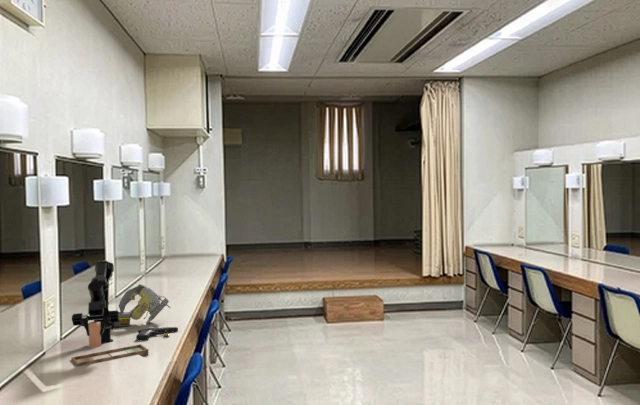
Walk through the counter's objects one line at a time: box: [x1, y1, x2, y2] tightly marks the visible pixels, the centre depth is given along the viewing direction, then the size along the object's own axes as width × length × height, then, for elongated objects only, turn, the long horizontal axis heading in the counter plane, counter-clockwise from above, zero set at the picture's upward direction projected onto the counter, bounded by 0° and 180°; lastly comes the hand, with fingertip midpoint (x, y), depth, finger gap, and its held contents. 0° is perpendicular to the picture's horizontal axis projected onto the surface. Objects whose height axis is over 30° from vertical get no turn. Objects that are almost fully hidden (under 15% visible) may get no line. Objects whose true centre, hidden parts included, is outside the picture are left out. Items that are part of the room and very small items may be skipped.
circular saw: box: [110, 283, 172, 327], centre depth 284 cm, size 10×30×25 cm
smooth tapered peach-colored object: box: [88, 321, 102, 349], centre depth 217 cm, size 5×5×10 cm
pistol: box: [136, 326, 179, 342], centre depth 259 cm, size 3×20×15 cm
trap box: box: [71, 343, 149, 367], centre depth 222 cm, size 30×11×2 cm, turn 127°
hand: (94, 335), depth 216 cm, fingers closed on smooth tapered peach-colored object, 5 cm apart
